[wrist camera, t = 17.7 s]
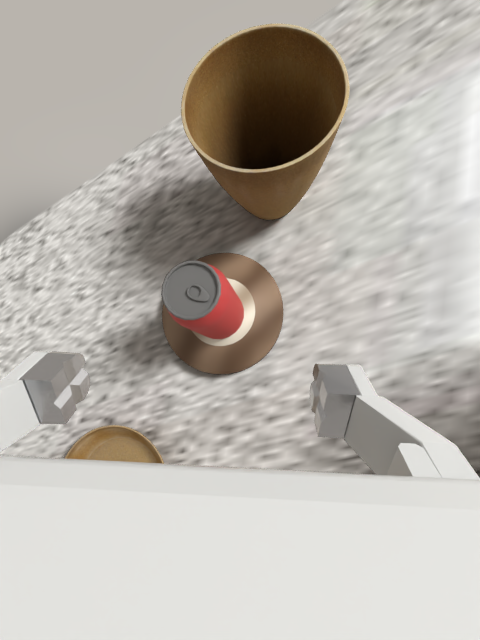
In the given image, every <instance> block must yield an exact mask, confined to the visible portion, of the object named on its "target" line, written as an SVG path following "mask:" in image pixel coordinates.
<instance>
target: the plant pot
mask: <svg viewBox="0 0 480 640" xmlns="http://www.w3.org/2000/svg"><path fill="white" fill-rule="evenodd" d="M348 98H349V79H348V74H347V70H346V67H345V64H344V62H343V60H342V58H341V56H340V55H339V53H338V52H337V50H336V49H335V48H334V47H333V46H332V45H331V44H330V43H329V42H328V41H327V40H325V39H324V38H323V37H321V36H320V35H318V34H317V33H315V32H313V31H311V30H308V29H306V28H303V27H300V26H296V25H290V24H266V25H260V26H254V27H251V28H248V29H245V30H242V31H239V32H237V33H235V34H233V35H231V36H229V37H227V38H226V39H224V40H223V41H221V42H220V43H218V44H217V45H215V46H214V47H213V48H212V49H211V50H209V52H207V53H206V54H205V55H204V56H203V58H202V59H201V60H200V61H199V62H198V64H197V65H196V66H195V68H194V70H193V71H192V73H191V74H190V76H189V78H188V80H187V83H186V85H185V88H184V92H183V96H182V104H181V116H182V122H183V126H184V130H185V132H186V135H187V137H188V139H189V141H190V142H191V144H192V145H193V147H194V148H195V150H196V151H197V153H198V155H199V156H200V158H201V159H202V160H203V162H204V163H205V165H206V166H207V168H208V169H209V171H210V172H211V173H212V175H213V176H214V177H215V179H216V180H217V181H218V182H219V184H220V185H221V186H222V187H223V188H224V189H225V191H226V192H227V193H228V194H229V195H230V196H231V197H232V198H233V199H234V200H235V201H236V202H237V203H239V204H240V205H241V206H242V207H243V208H245V209H246V210H247V211H249V212H250V213H251V214H253V215H255V216H256V217H258V218H261V219H265V220H274V219H278V218H281V217H283V216H285V215H286V214H288V213H289V212H290V211H291V210H292V209H293V208H294V207H295V206H296V205H297V203H298V202H299V201H300V200H301V199H302V197H303V196H304V195H305V193H306V192H307V190H308V189H309V187H310V186H311V184H312V183H313V181H314V179H315V177H316V176H317V174H318V172H319V170H320V168H321V166H322V164H323V162H324V160H325V158H326V156H327V154H328V152H329V150H330V147H331V145H332V143H333V140H334V138H335V135H336V133H337V131H338V128H339V126H340V123H341V121H342V118H343V116H344V113H345V110H346V107H347V103H348Z"/></svg>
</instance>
